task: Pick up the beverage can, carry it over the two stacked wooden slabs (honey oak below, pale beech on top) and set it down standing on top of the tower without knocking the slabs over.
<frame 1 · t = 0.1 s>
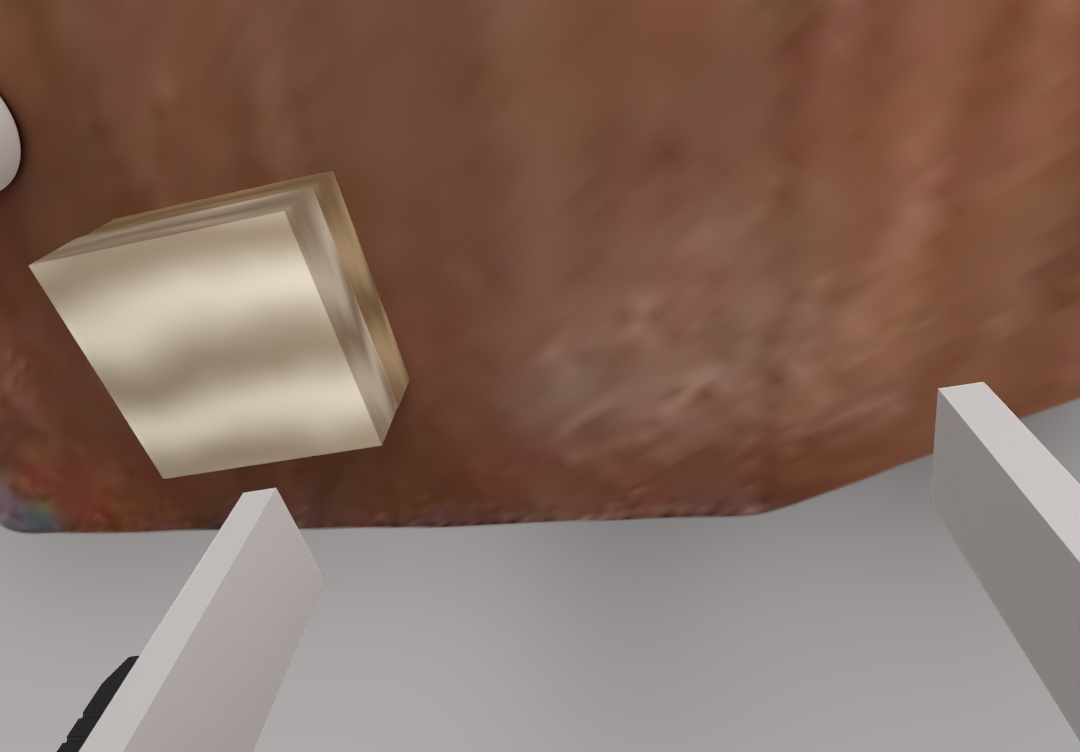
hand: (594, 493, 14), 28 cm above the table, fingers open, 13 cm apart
top slab: (246, 327, 41), point 3 cm above the table, touching bottom slab
bottom slab: (273, 299, 44), on the table, touching top slab
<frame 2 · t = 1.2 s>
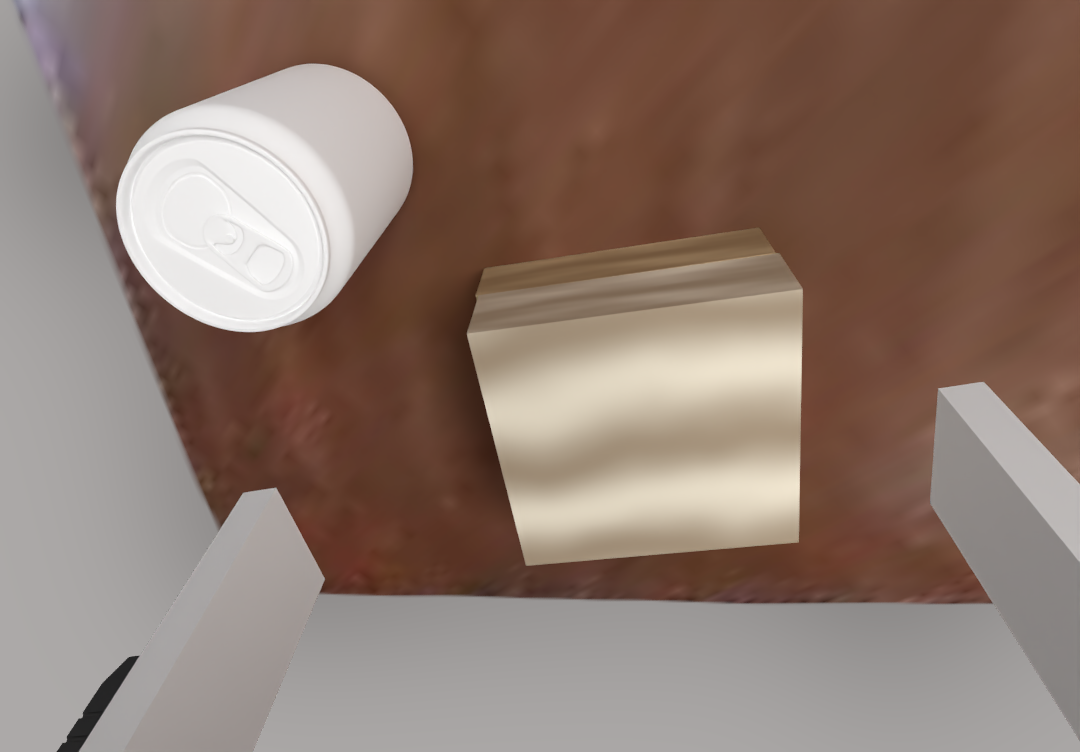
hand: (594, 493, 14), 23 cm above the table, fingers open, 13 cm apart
top slab: (639, 399, 36), point 3 cm above the table, touching bottom slab
bottom slab: (632, 361, 39), on the table, touching top slab
beverage can: (334, 151, 34), on the table
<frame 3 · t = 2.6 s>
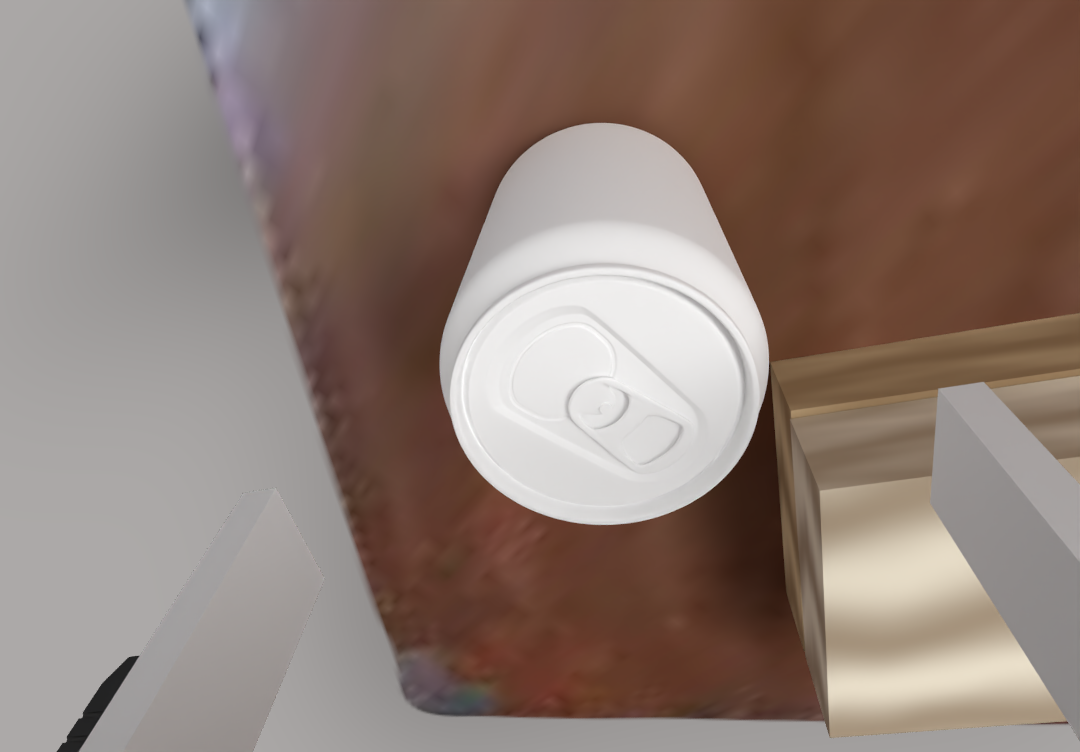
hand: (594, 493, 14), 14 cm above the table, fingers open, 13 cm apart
top slab: (977, 530, 28), point 3 cm above the table
bottom slab: (936, 462, 32), on the table
beverage can: (597, 228, 26), on the table
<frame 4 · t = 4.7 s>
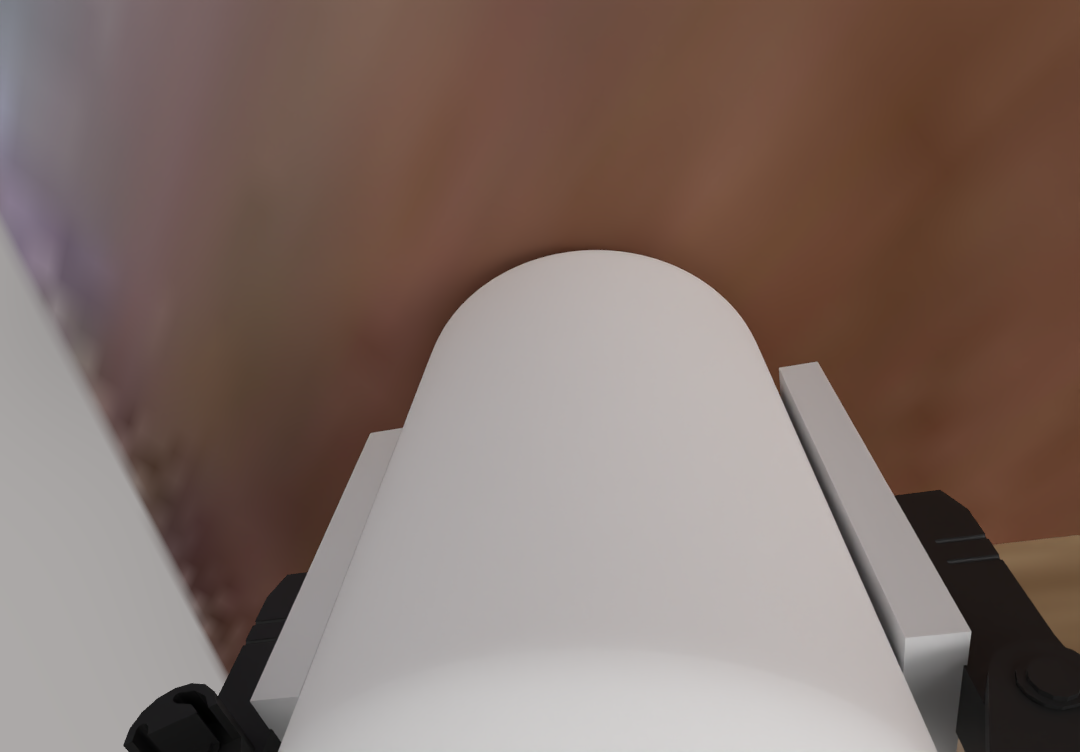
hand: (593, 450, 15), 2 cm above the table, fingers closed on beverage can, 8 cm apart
bottom slab: (1067, 680, 22), on the table, touching top slab
beverage can: (592, 390, 17), on the table, touching gripper
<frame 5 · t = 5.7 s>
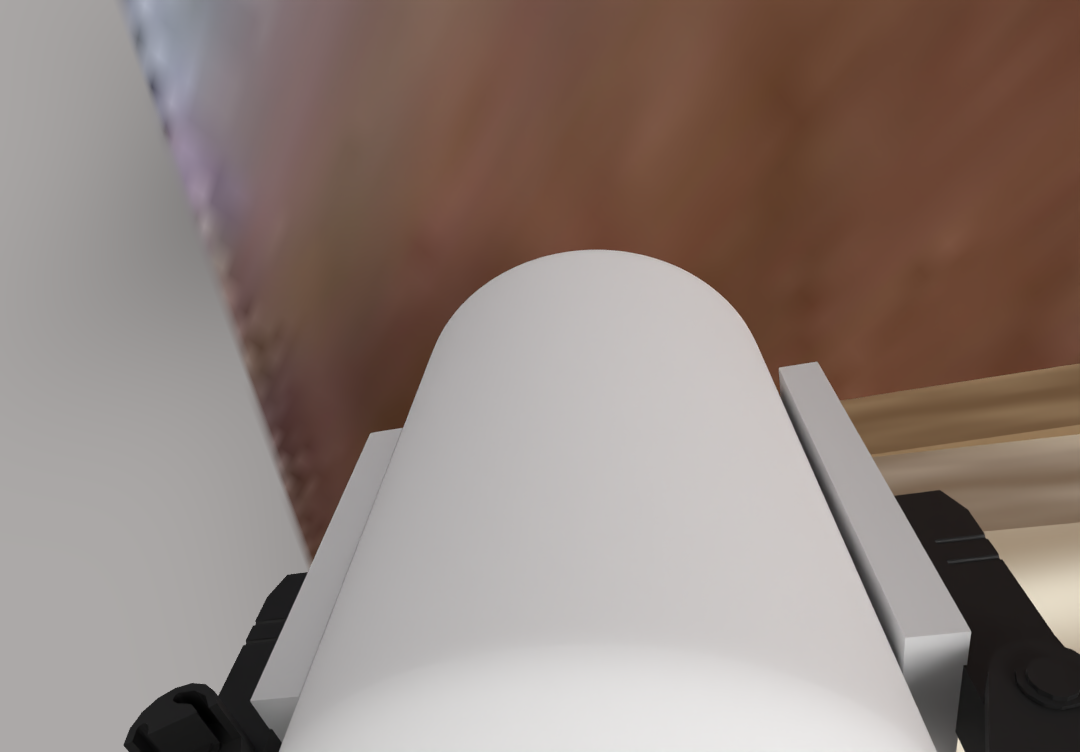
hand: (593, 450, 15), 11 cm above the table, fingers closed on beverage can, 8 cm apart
top slab: (978, 590, 27), point 3 cm above the table, touching bottom slab
bottom slab: (931, 515, 30), on the table, touching top slab
beverage can: (592, 389, 18), point 8 cm above the table, touching gripper
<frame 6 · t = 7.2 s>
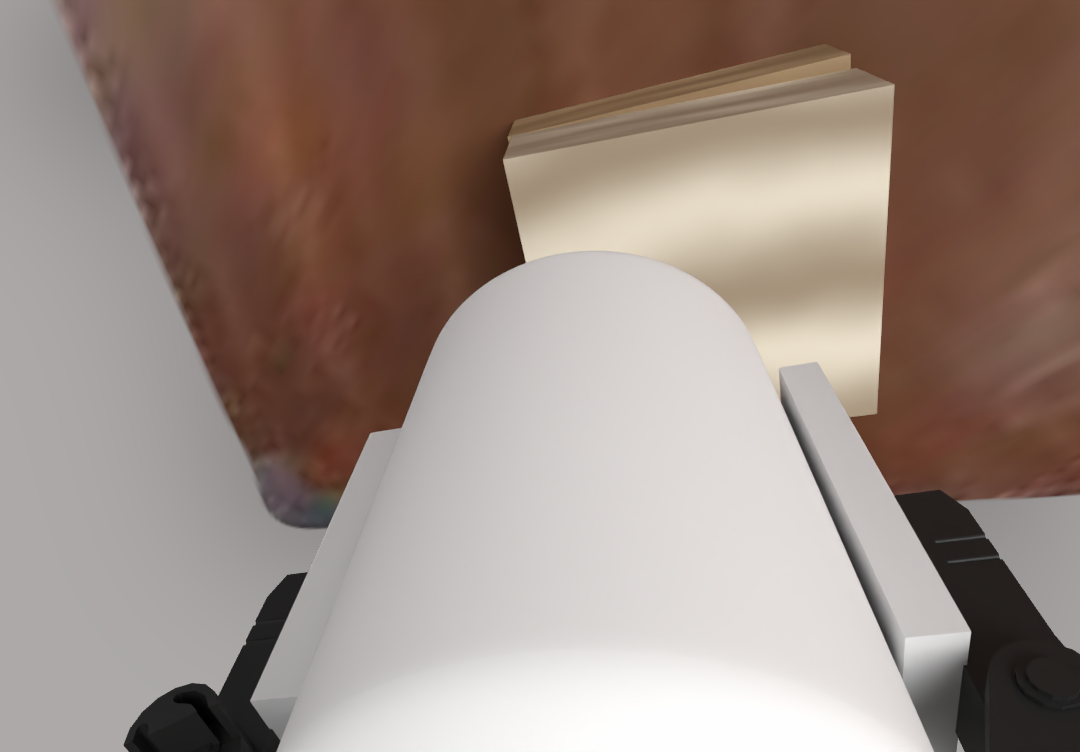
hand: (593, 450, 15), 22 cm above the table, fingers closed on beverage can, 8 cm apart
top slab: (693, 260, 32), point 3 cm above the table, touching bottom slab
bottom slab: (683, 225, 35), on the table, touching top slab
beverage can: (591, 390, 17), point 19 cm above the table, touching gripper
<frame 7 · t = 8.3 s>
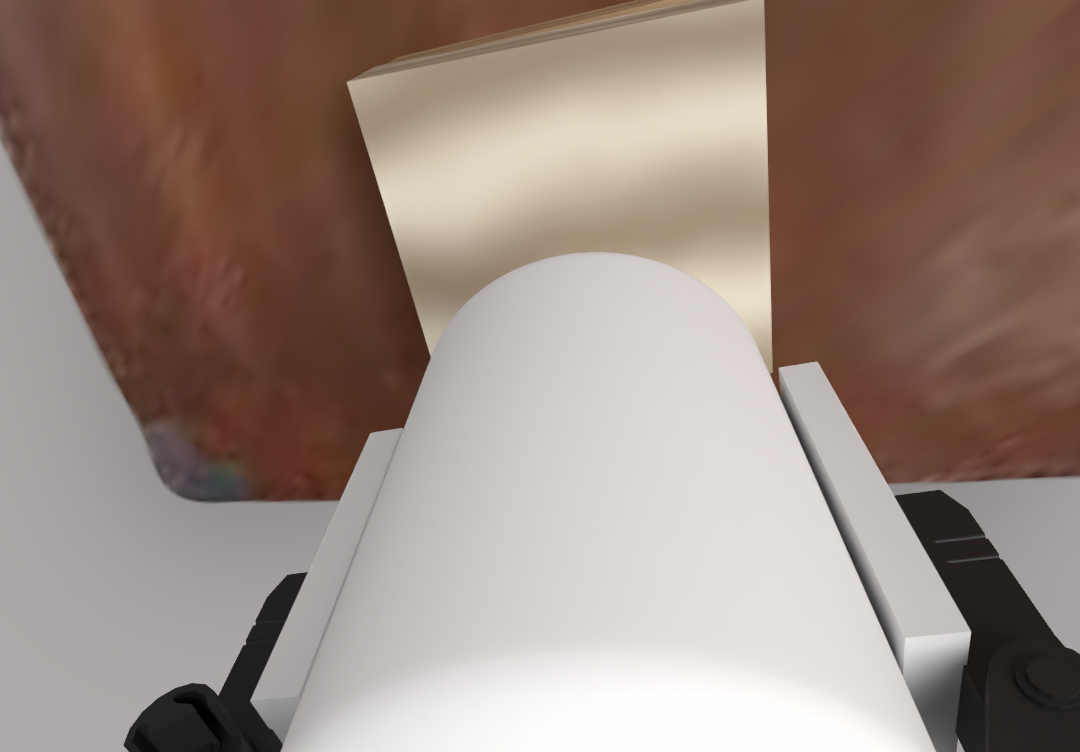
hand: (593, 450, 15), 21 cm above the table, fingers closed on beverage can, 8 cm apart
top slab: (580, 208, 30), point 4 cm above the table
bottom slab: (584, 179, 33), on the table
beverage can: (592, 391, 17), point 18 cm above the table, touching gripper
when the fingers open (11 cm above the table, at t = 11.8 s): beverage can stays where it is, resting on top slab.
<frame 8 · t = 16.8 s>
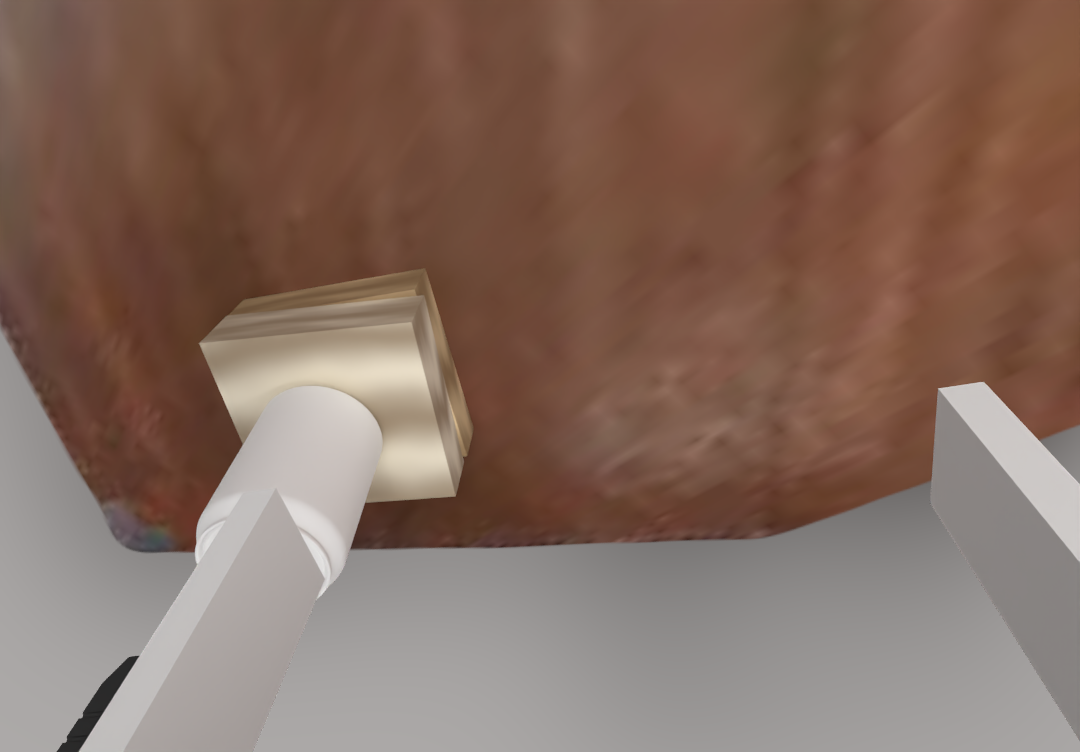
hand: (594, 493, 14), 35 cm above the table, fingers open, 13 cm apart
top slab: (351, 392, 51), point 4 cm above the table, touching beverage can
bottom slab: (365, 364, 54), on the table
beverage can: (325, 427, 47), point 8 cm above the table, touching top slab
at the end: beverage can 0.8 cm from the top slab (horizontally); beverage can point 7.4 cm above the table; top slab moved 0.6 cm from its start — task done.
